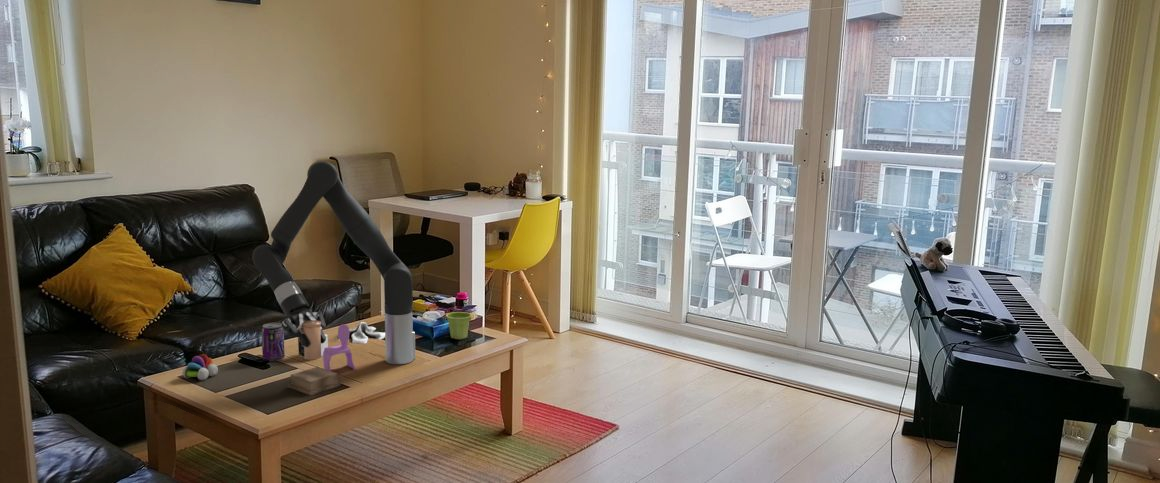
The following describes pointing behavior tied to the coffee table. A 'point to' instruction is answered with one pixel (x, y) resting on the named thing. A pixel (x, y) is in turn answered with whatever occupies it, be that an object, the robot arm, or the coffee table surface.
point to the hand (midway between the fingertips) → (316, 343)
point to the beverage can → (273, 341)
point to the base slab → (314, 380)
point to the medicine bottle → (301, 346)
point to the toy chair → (339, 348)
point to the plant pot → (458, 324)
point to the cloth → (364, 333)
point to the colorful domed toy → (200, 368)
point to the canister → (312, 339)
